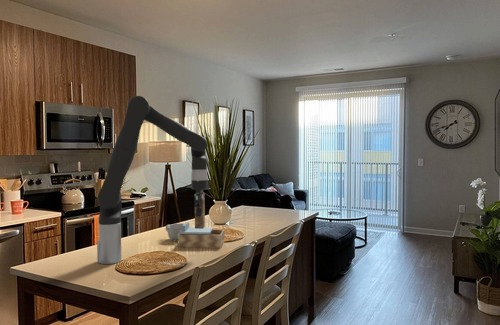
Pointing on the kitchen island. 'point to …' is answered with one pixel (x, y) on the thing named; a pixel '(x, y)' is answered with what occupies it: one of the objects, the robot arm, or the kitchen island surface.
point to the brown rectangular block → (200, 219)
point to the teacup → (174, 231)
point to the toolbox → (202, 239)
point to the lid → (192, 230)
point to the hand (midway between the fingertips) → (199, 215)
